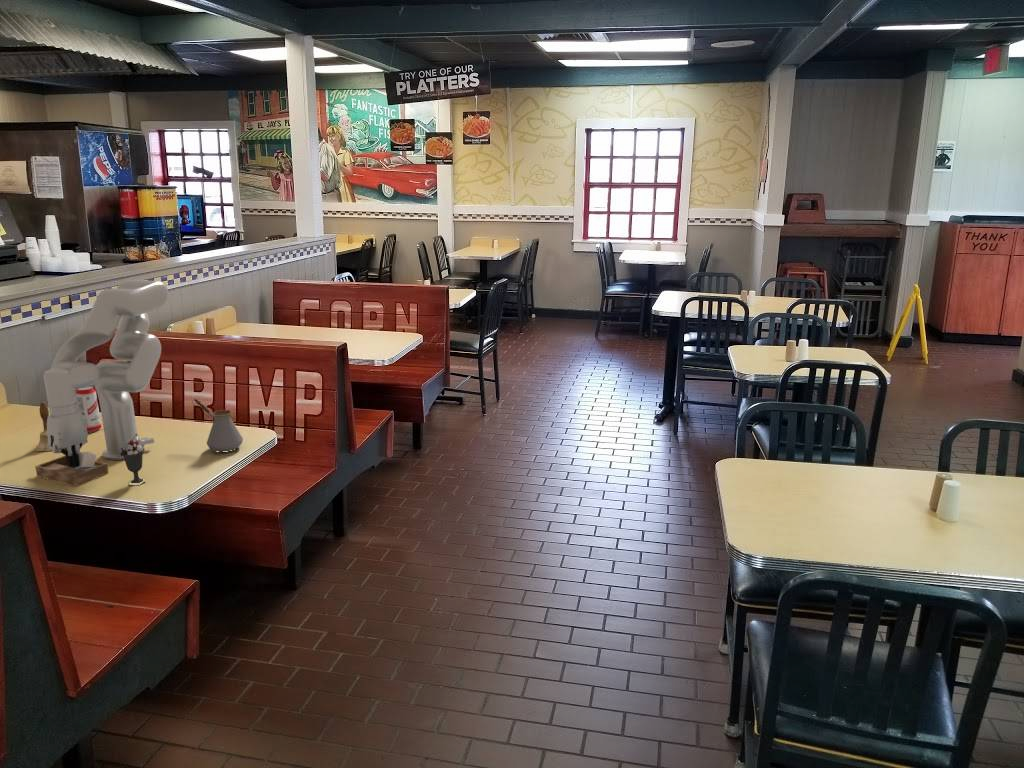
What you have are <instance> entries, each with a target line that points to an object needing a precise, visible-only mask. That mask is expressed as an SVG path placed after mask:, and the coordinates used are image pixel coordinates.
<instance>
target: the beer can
mask: <svg viewBox="0 0 1024 768" xmlns="http://www.w3.org/2000/svg"><path fill="white" fill-rule="evenodd" d="M76 397H77V401H80V402H81V405H79V406H78V407H79V410H80V411H81V413H82V415H83V417H84V420H85V424H86V428H87V433H95V432H98V431H100V430H101V428H102V422H101V421H102V420H101V416H100V415H101V414H100V409H99V403H98V398H97V397H98V395H97V391H96V389H95V387H94V385H93V386H91V387H86V388H80V389H76ZM99 429H100V430H99ZM97 430H98V431H97ZM94 431H95V432H94Z"/></svg>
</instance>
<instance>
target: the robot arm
mask: <svg viewBox="0 0 1024 768" xmlns="http://www.w3.org/2000/svg"><path fill="white" fill-rule="evenodd" d="M168 299H169V289H168V287H167V286H166V285H165V283H163V282H161V281H160V280H147V279H143V280H142V279H127V280H123V281H121V282H119V284H118V285H117V288H105V289H103V290H101V291H100V292H98V294H97V296H96V299H95V301H94V303H93V305H92V308H91V310H90V312H89V314H88V316H87V319H86V320H85V323H84V325H83V327H82V328H81V329H80V330H78V331H77V332H75V333H74V334H73V335H72V336H71V337H70V338H69V339H67V340H66V341H65V342H64V343H63V344H62V345H61V346H60V348H59V349H58V351H57V352H56V355H55V356H54V359H53V361H52V364H51V367H50V369H48V370H46V371H44V372H43V382H44V387H45V392H46V393H45V394H46V399H47V404H48V411H49V416H48V418H47V436H48V443H49V446H50V447H53V448H52V451H51V452H52V453H53V454H63V456H66V461H67V465H68V466H69V467H73V468H75V467H76V466H77V467H78V466H79V456H78V453H79V452H81V449H82V447H83V446H84V445H85V444H87V443H88V442H89V441H88V435H89V434H88V433H89V432H87V428H86V424H85V420H84V417H83V415H82V413H81V411H80V410H79V407H78V406H79V405H81V402H80V401H77V396H76V392H77V389H80V388H86V387H91V386H93V387H94V389H95V391H96V395H97V397H98V398H97V399H98V400H99V406H100V415H101V421H102V426H103V433H104V439H105V445H106V449H105V450H103V451H102V453H101V455H102V458H104V459H105V460H107V461H108V460H109V461H122V459H123V460H125V459H124V457H123V456H121V455H120V452H121V451H122V450H121V448H122V449H123V450H124V449H125V446H126V444H127V443H129V442H130V440H133V441H134V442H135V441H136V440H137V441H138V442H139V445H140V446H141V447H142V448H143V449H144V450H145V445H151V444H154V443H155V440H154V437H148V436H145V437H143V438H141V437H139V436H138V435H137V436H135V434H138V428H137V424H136V416H135V408H134V402H133V398H132V396H131V394H130V393H139V392H140V393H141V392H142V391H144V390H146V388H147V387H148V385H149V383H150V382H151V380H152V376H153V375H154V373H155V370H156V367H157V365H158V363H159V360H160V357H161V354H162V343H161V342H160V339H159V338H158V337H157V336H156V335H154V334H152V333H151V334H150V333H148V331H149V328H150V323H151V322H150V318H149V315H148V313H149V312H151V311H153V310H156V309H158V308H161V307H162V306H164V305H165V304H166V302H167V301H168ZM119 322H120V323H119ZM118 325H119V326H118ZM117 327H118V328H117ZM115 331H116V332H115ZM113 336H114V337H113ZM110 341H111V343H110V345H109V353H110V355H111V356H112V357H113V358H114V359H115V360H104V361H100V362H98V363H97V364H94V363H92V362H83V361H77V360H79V358H80V357H81V356H82V355H83V354H85V352H87V351H89V350H90V349H93V348H95V347H98V346H100V345H103V344H106V343H108V342H110ZM134 437H135V438H134ZM133 438H134V439H133ZM145 451H146V450H145Z"/></svg>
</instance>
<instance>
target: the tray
mask: <svg viewBox="0 0 1024 768" xmlns="http://www.w3.org/2000/svg"><path fill="white" fill-rule="evenodd" d="M95 465H98V466H97V467H95V468H92V469H89V470H87V471H83V470H79V469H75V468H77V466H76V467H75V468H73V467H69V466H68V465H67V461H66V456H65V455H63V456H60V457H58V458H55V459H54V458H53V459H51V460H49V461H46V462H43V463H40V464H37V465H35V471H36V473H35V474H36V476H37V477H40V476H41V477H40V478H43V477H45V478H44V479H47V478H48V480H51V481H54V480H55V482H58V481H59V483H62V484H66V485H69V484H70V485H69V486H74V487H78V486H80V485H82V483H83V484H85V483H88V482H90V481H93V480H94V479H98V478H100V477H102V476H105V475H108V474H109V469H108V463H107V462H106V463H105V462H102V461H98V460H95ZM78 467H79V466H78ZM107 473H108V474H107ZM104 474H105V475H104ZM97 477H98V478H97Z"/></svg>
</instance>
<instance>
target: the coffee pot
mask: <svg viewBox="0 0 1024 768" xmlns="http://www.w3.org/2000/svg"><path fill="white" fill-rule="evenodd" d="M194 401H195V403H194ZM191 404H192V405H196V404H197V405H199V407H200V408H201V409H202V410H203V411H204V412H206V413H207V414H208V415H210V417H212V419H213V422H212V425H211V428H210V431H209V435H208V438H207V441H206V445H207V447H208V449H210V450H211V451H213V452H214V451H219V452H223V451H230V450H234V449H236V448H237V449H238V448H239V447H240V446H241V445H242V443H243V442H244V441H243V440H244V439H243V436H242V435H241V433H240V431H239V430H238V428H237V426H236V425H235V423H234V422H233V421H234V420H233V419H232V417H231V415H232V414H233V411H232V410H231V409H222V410H221V409H220V410H216V411H213V412H212V411H210V410H209V408H207V406H206V405H205V404H203V403H201V401H199V399H198V398H194V399H193V400H192V401H191ZM237 449H236V450H237ZM234 451H235V450H234Z"/></svg>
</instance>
